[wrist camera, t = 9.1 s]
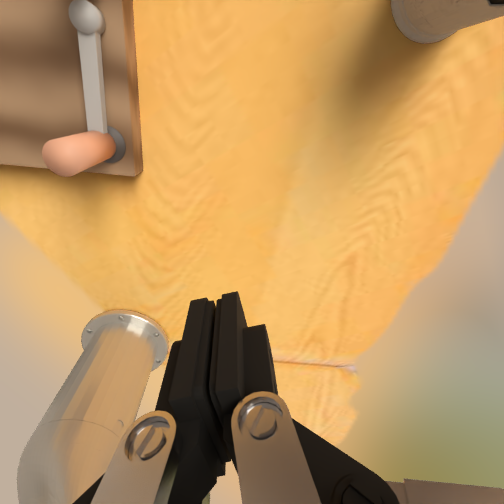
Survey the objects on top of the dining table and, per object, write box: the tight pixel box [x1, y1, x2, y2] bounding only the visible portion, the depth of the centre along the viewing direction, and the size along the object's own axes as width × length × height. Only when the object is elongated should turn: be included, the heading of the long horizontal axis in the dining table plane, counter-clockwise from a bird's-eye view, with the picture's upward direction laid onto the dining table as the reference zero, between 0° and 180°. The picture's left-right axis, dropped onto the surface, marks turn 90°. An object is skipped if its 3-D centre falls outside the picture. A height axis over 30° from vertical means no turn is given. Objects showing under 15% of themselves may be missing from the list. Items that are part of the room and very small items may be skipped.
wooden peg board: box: [0, 0, 143, 176], centre depth 24 cm, size 19×18×11 cm
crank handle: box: [42, 0, 116, 177], centre depth 24 cm, size 12×3×8 cm, turn 172°
